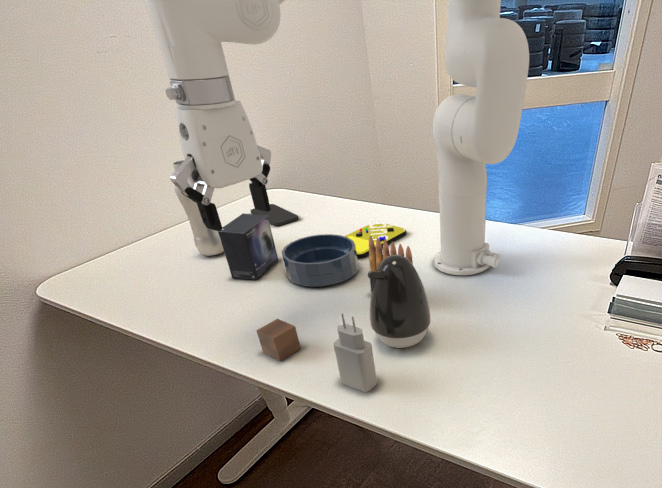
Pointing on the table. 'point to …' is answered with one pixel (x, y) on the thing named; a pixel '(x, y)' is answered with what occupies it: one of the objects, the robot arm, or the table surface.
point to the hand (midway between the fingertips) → (239, 219)
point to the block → (278, 339)
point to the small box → (248, 246)
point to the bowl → (320, 260)
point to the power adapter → (354, 358)
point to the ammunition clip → (383, 254)
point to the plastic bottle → (199, 223)
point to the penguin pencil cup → (398, 303)
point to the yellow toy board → (375, 236)
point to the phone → (277, 215)
